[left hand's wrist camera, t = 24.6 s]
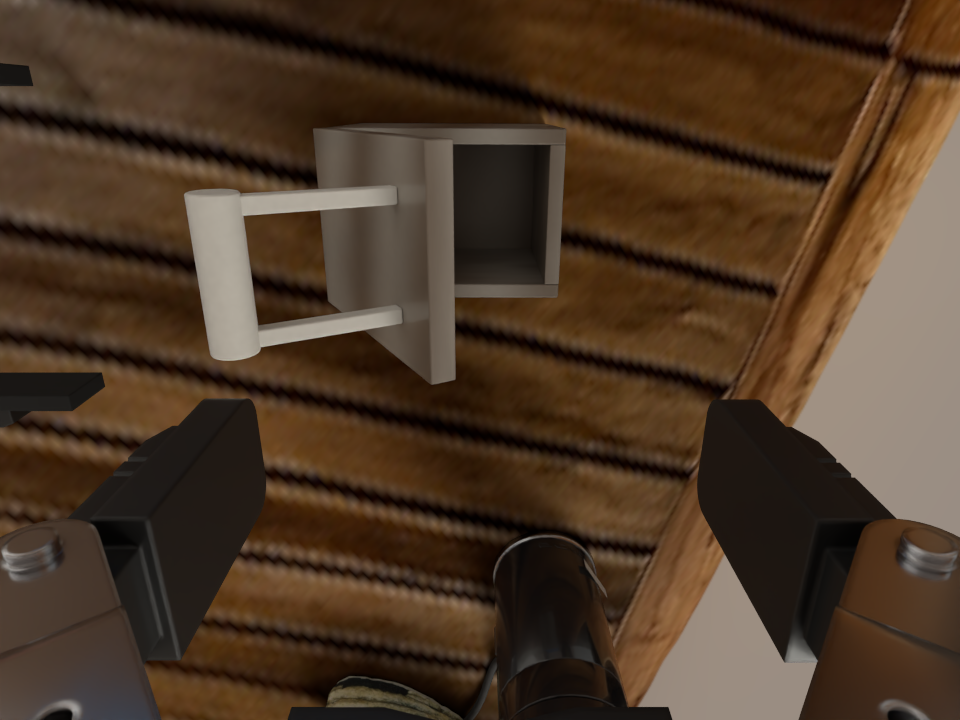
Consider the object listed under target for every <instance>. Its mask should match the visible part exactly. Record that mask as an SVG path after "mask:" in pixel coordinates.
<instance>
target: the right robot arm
mask: <svg viewBox="0 0 960 720" xmlns="http://www.w3.org/2000/svg"><path fill="white" fill-rule="evenodd" d="M0 86H33V83H32V79H31V74H30V70H29V66H23V65H13V64H3V63H0ZM104 387H105V384H104V380H103V376H102V373H0V427H5V426H8V425H10V424H13V423H14V422H16V421H17V420H19V419H20V418H22V417H23V416H25V415H26V414H28V413H29V412H31V411H73V410H74V409H76V408H77V407H78V406H80V405H81V404H82V403H84V402H85V401H86V400H88V399H89V398H90V397H92V396H93V395H95V394H96V393H97V392H99V391H100V390H101V389H103V388H104Z"/></svg>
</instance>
